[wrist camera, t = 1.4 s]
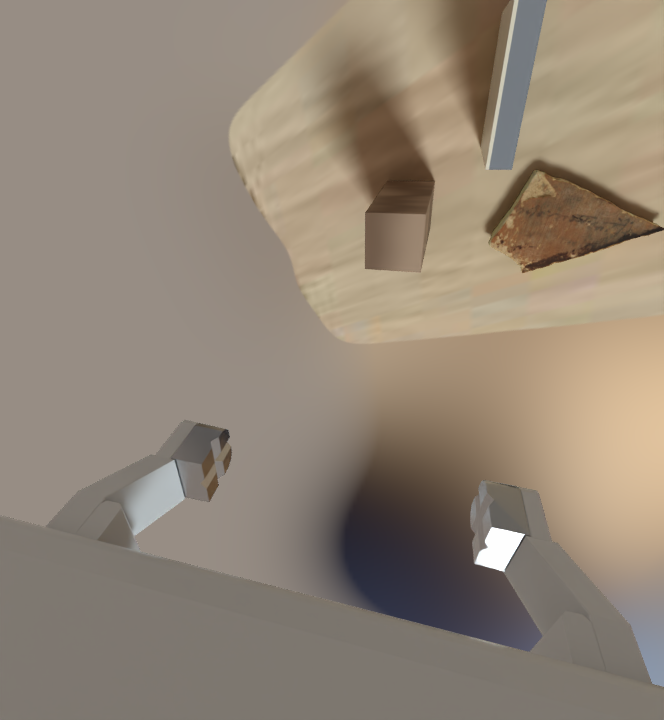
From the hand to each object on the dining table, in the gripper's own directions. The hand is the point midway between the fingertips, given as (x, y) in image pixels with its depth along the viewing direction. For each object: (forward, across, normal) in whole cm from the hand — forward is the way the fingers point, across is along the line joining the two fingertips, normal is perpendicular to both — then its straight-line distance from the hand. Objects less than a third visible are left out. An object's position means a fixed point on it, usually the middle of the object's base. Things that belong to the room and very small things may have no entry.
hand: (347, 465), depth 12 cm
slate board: (+28, -5, -11) cm, 31 cm away
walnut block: (+29, 0, -2) cm, 29 cm away
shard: (+29, -13, -3) cm, 32 cm away
